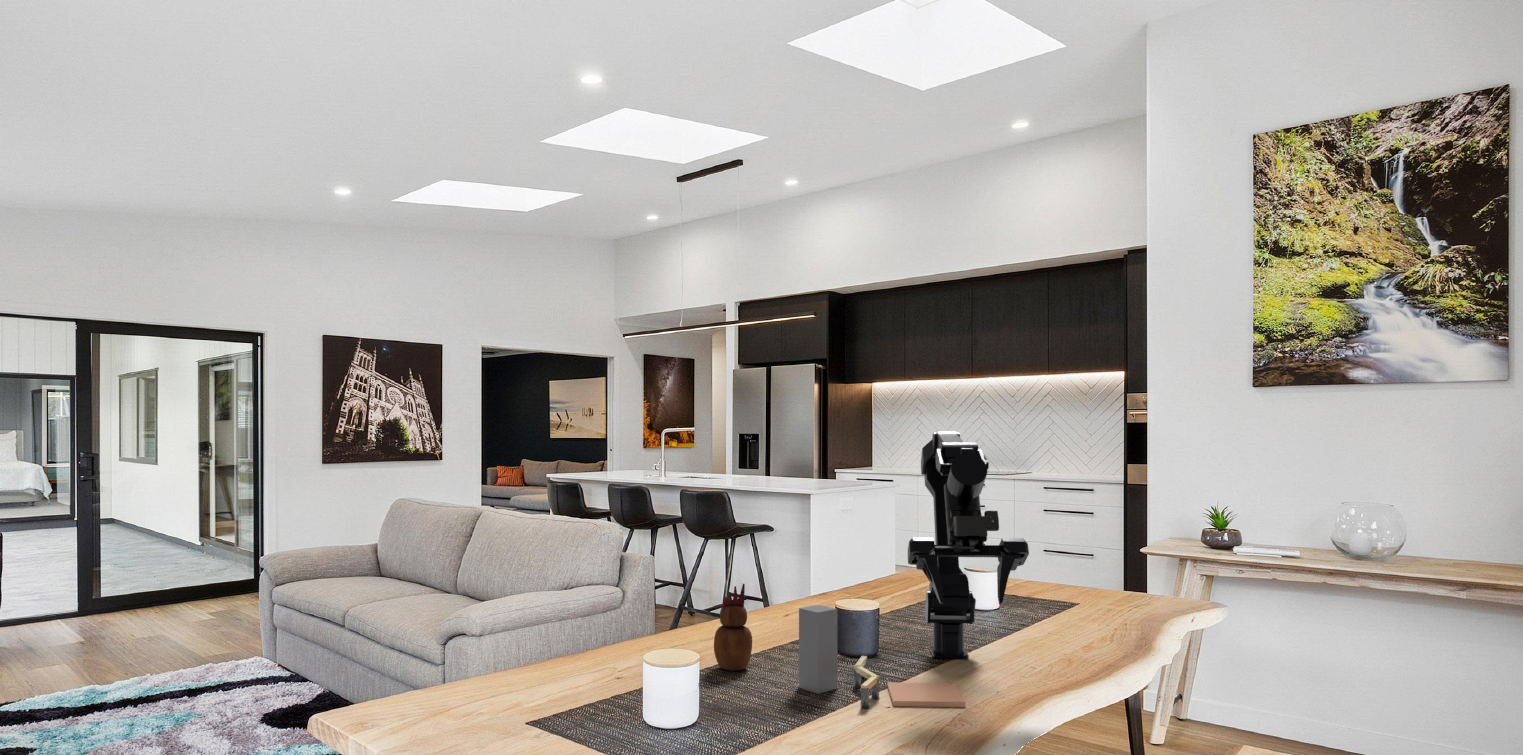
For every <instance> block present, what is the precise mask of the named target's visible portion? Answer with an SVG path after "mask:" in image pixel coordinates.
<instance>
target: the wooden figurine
mask: <svg viewBox="0 0 1523 755" xmlns="http://www.w3.org/2000/svg"><path fill="white" fill-rule="evenodd" d="M745 586H746V585H745V583H742V586H741V588H740V589H741V590H740V593H739V596H738V591H737V586H734V588H733V596H732V593H731V592H728V597H727V596H724V599H723V604H722V607H721V608H720V611H719V623H720V624H721V626H719V627H717V629H716V631H715V634H714V636H713V637H714V639H713V652H714V656H715V660H716V662H717V664H718V666H719V667H720V668H721V669H723V670H725V671H728V672H737V671H742V670H744V669H746V668H748V665H749V663H750V660H751V656H752V650H753V635H752V632H751V630H750V628H749V627H747V626H746V624H747V621H748V612H747V609H746V608H745V588H746V587H745Z"/></svg>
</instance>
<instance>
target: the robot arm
mask: <svg viewBox="0 0 1523 755" xmlns="http://www.w3.org/2000/svg"><path fill="white" fill-rule="evenodd" d="M989 463H990V462H989V460H988V458H987V457H986V455H985V454H984V453H983V450H982V448H979V445H978V443H977V442H973V441H972V442H971V441H970V442H967V441H965V442H964V441H963V439H962V438H961V434H960V432H957V431H956V430H942V431H941V430H936V431H935V432H933V433H932V438H931V439H930V441H928V443H926V444H925V445H924V446H923V447H922V450H921V457H920V473H921V475H923V476H924V486H925V488H926V489H927V490H928V492H929V493H930V494H931V496H932V498H933V515H934V516H933V517H934V520H933V521H934V537H935V538H934V537H926V536H924V537H923V536H921V537H920V536H919V537H917V536H913V537H911V538H910V540H909V541H908V547H907V564H909V565H911V566H912V565H914V566H915V568H916V570H918V571H919V570H921V571H922V572H923V574H924V575H925V577H926V578H927V579H928V580H927V581H929V584H928V588H929V590H928V589H926V594H925V602H924V617H925V618H924V619H925V621H926V623H927V624H932V633H933V634H932V636H933V637H932V640H933V644H932V645H933V646H929V651H930V653H931V655H932V657H933V658H936V659H937V658H939V659H947V658H948V659H969V658H970V655H969V654H968V652H967V651H966V650H965V624H969V625H973V623H975V610H976V605H977V604H976V603H977V599H976V598H975V597H974V595H973V591H971V590H970V584H969V578H968V576H967V574H966V573H964V572H963V571H962V569H961V568H960V564H959V563H960V561H959V558H997V560H998V565H997V567H996V570H997V572H996V573H997V575H996V577H997V579H996V580H997V599H998V605H1000V606H1002V605H1003V602H1004V598H1005V593H1006V588H1007V584H1008V579H1009V576H1010V574H1011V571H1016V570H1017V568H1018V567H1021V566H1024V564H1025V562H1026V560H1027V558H1028V556H1029V554H1030V553H1029V552H1030V551H1029V550H1030V549H1029V544H1028V542H1027V541H1026V540H1025V539H1024V538H1020V537H1019V538H1017V537H1002V538H1001V540H1000V542H999V544H998V545H997V544H994V545H993V544H989V545H988V544H985V542H987V540H988V532H998V531H999V530H1000V520H999V512H998V510H985V511H984V514H983V515H982V509H981V508H982V507H981V500H980V495H981V493H982V491H983V487H984V485H985V482H986V478H987V475H988V470H989V469H990V468H989V466H990V465H989Z"/></svg>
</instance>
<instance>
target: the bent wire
mask: <svg viewBox="0 0 1523 755" xmlns="http://www.w3.org/2000/svg"><path fill="white" fill-rule="evenodd" d="M868 664H869V663H868V655H861V656H860V657H859V659H858V661H857V662H856V663H855V664H854V665H853V688H855V689H860V708H861V709H862V710H863V709H865V710H867V709H870V708H869V706H870V705H869V703H870V700H869V699H870V698H869V695H870V694H871V699H872V700H878V699H880V676H879V675H877V674H876V673H874V672H872V671H870V670H869V669H868ZM862 678H864V679H867V680H865V681H864V682H863V683H862ZM869 690H871V693H870V694H869V692H870V691H869Z"/></svg>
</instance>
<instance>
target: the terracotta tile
mask: <svg viewBox="0 0 1523 755" xmlns="http://www.w3.org/2000/svg"><path fill="white" fill-rule="evenodd" d="M887 689H888V692H889V697H890V700H891V702H892V706H893V707H924V708H925V707H927V708H928V707H929V708H932V707H933V708H934V707H935V708H937V707H938V708H966V701H965V698H964V697H963V695H962V694H961V692H960V690H959V689H958V686H957V685H956V684H955V683H954V682H953V683H952V682H951V683H949V682H948V683H947V682H895V681H894V682H893V681H892V682H891V681H889V682H887Z"/></svg>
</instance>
